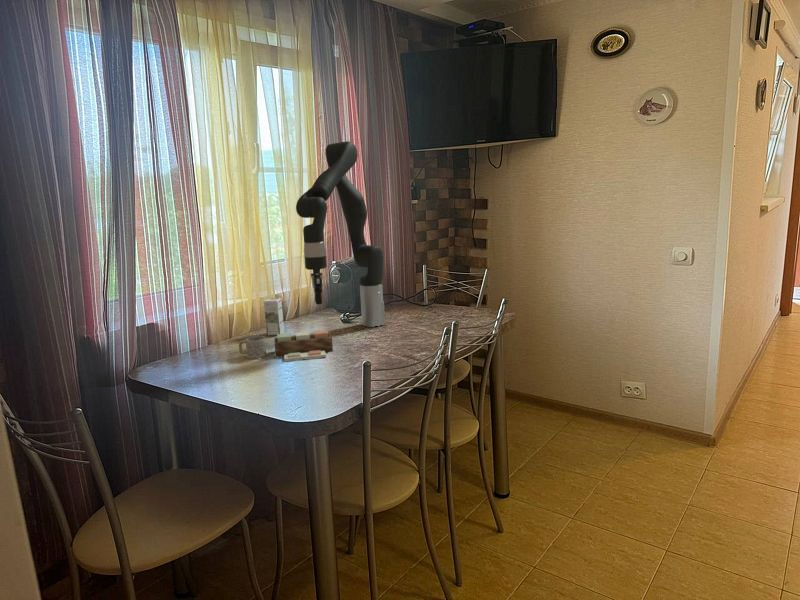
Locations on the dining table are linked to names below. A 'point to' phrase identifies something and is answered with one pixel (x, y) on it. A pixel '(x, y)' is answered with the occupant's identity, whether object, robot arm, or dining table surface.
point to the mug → (254, 347)
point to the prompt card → (304, 355)
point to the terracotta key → (321, 334)
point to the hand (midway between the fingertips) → (318, 303)
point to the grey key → (302, 335)
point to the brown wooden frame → (303, 345)
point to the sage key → (284, 337)
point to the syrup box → (273, 316)
